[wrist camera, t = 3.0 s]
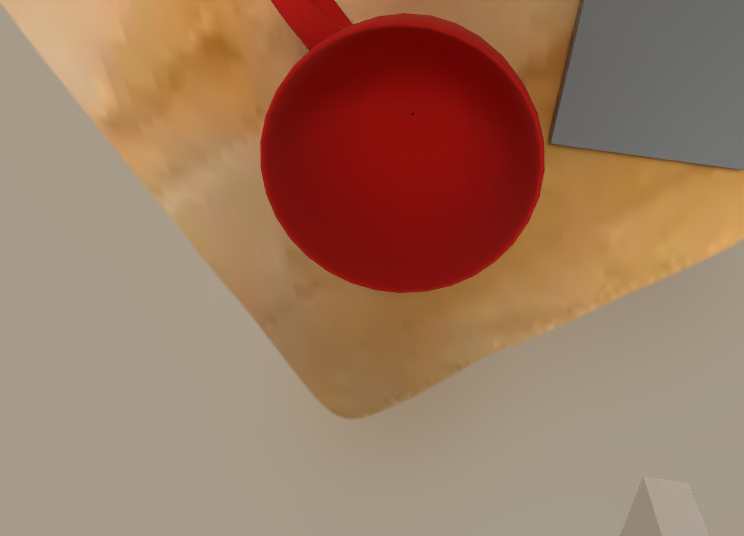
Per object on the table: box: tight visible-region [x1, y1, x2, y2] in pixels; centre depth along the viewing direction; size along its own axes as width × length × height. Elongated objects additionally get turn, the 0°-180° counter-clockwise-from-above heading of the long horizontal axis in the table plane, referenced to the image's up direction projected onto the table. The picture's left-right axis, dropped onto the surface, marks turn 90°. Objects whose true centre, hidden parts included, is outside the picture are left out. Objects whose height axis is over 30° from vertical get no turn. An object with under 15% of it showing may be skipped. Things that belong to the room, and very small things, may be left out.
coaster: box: [549, 0, 744, 170], centre depth 37 cm, size 11×11×1 cm
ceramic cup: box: [261, 0, 544, 293], centre depth 36 cm, size 13×17×10 cm
